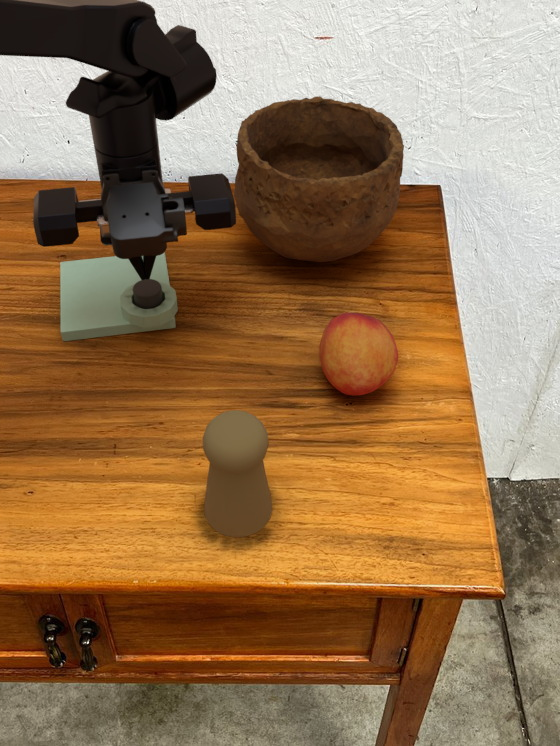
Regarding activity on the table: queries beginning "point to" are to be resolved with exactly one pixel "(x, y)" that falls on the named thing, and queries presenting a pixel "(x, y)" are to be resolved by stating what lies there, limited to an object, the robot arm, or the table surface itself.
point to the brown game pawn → (236, 474)
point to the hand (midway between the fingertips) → (145, 277)
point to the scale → (110, 299)
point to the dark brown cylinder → (147, 294)
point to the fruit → (357, 353)
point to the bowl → (318, 177)
